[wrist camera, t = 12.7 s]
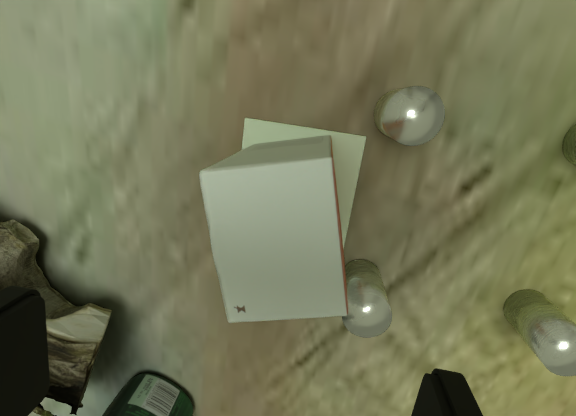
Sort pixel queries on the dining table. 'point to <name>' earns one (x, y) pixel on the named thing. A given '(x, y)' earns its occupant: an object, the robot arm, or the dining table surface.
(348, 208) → the sage mat
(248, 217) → the small box
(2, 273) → the hollow geode rock
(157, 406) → the coffee jar
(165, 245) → the dining table surface
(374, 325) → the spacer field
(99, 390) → the dining table surface
